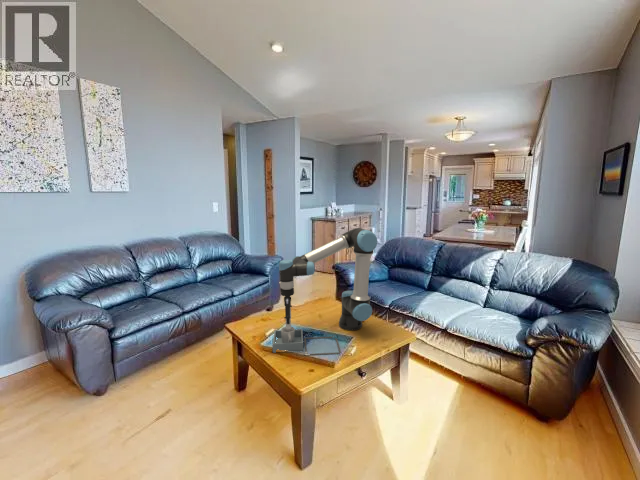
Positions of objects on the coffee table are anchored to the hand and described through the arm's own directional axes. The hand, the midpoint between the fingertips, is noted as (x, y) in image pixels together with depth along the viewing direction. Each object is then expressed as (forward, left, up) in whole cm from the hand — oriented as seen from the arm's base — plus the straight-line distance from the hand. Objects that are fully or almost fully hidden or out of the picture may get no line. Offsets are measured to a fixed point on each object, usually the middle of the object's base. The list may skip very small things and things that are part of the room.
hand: (288, 323), depth 175 cm
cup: (0, 0, -12) cm, 12 cm away
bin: (0, 0, -13) cm, 13 cm away
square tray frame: (-19, +3, -13) cm, 23 cm away
